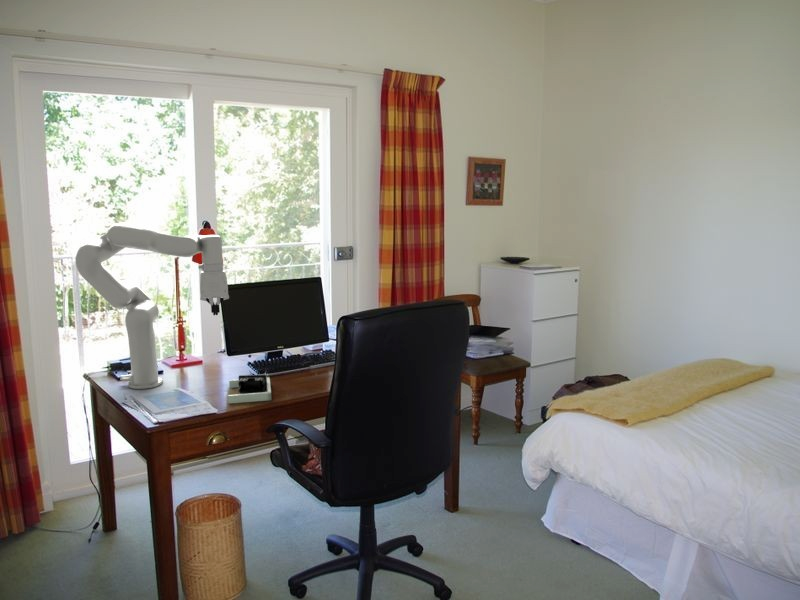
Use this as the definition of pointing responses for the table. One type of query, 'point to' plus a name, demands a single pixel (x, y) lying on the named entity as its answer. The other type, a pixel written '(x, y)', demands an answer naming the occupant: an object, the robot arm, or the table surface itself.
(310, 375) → the table surface
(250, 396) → the holder
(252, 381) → the end cap
